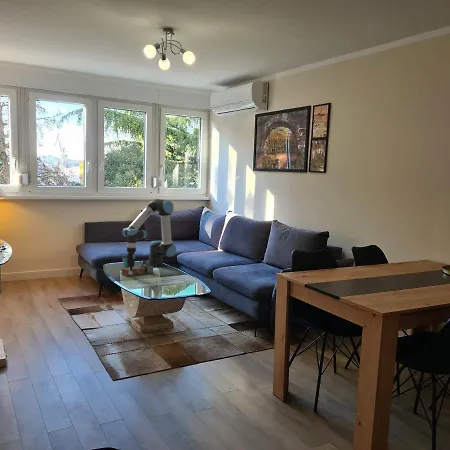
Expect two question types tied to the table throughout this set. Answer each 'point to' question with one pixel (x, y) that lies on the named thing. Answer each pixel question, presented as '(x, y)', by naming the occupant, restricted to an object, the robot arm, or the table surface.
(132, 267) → the base
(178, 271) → the table surface
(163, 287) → the table surface
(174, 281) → the table surface
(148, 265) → the collar
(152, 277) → the table surface
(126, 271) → the hinged jaw
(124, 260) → the cup
